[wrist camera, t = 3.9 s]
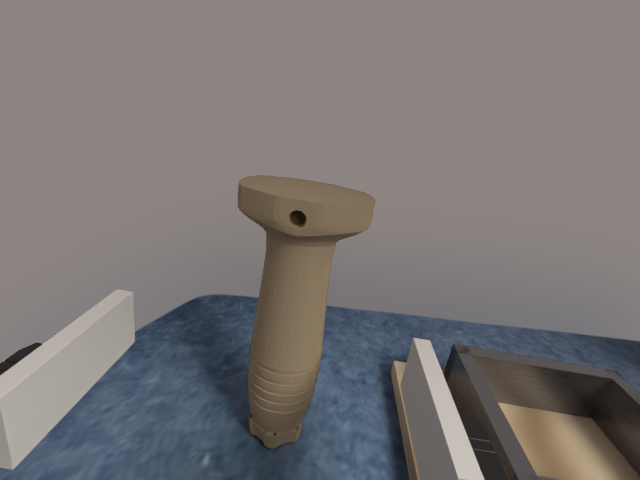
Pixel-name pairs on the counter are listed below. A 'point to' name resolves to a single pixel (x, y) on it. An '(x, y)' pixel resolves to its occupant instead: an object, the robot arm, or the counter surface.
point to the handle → (293, 292)
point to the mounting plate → (542, 442)
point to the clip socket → (541, 400)
